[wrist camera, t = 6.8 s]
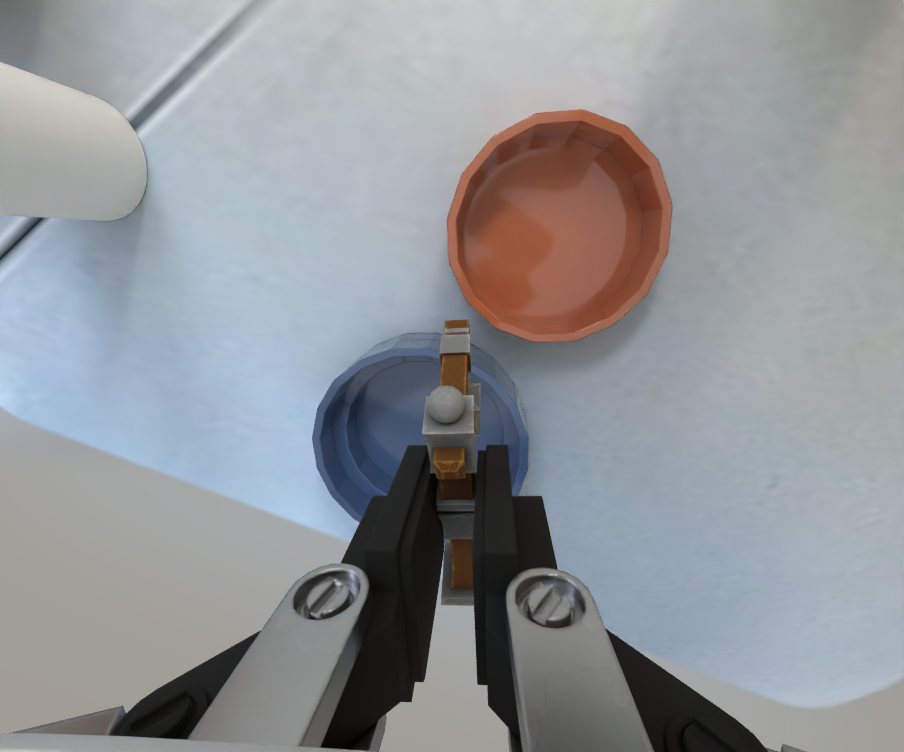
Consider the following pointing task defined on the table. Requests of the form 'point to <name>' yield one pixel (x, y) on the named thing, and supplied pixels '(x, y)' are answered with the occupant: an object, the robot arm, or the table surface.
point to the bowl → (404, 417)
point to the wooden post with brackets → (455, 458)
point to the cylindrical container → (65, 152)
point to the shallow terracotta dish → (559, 226)
